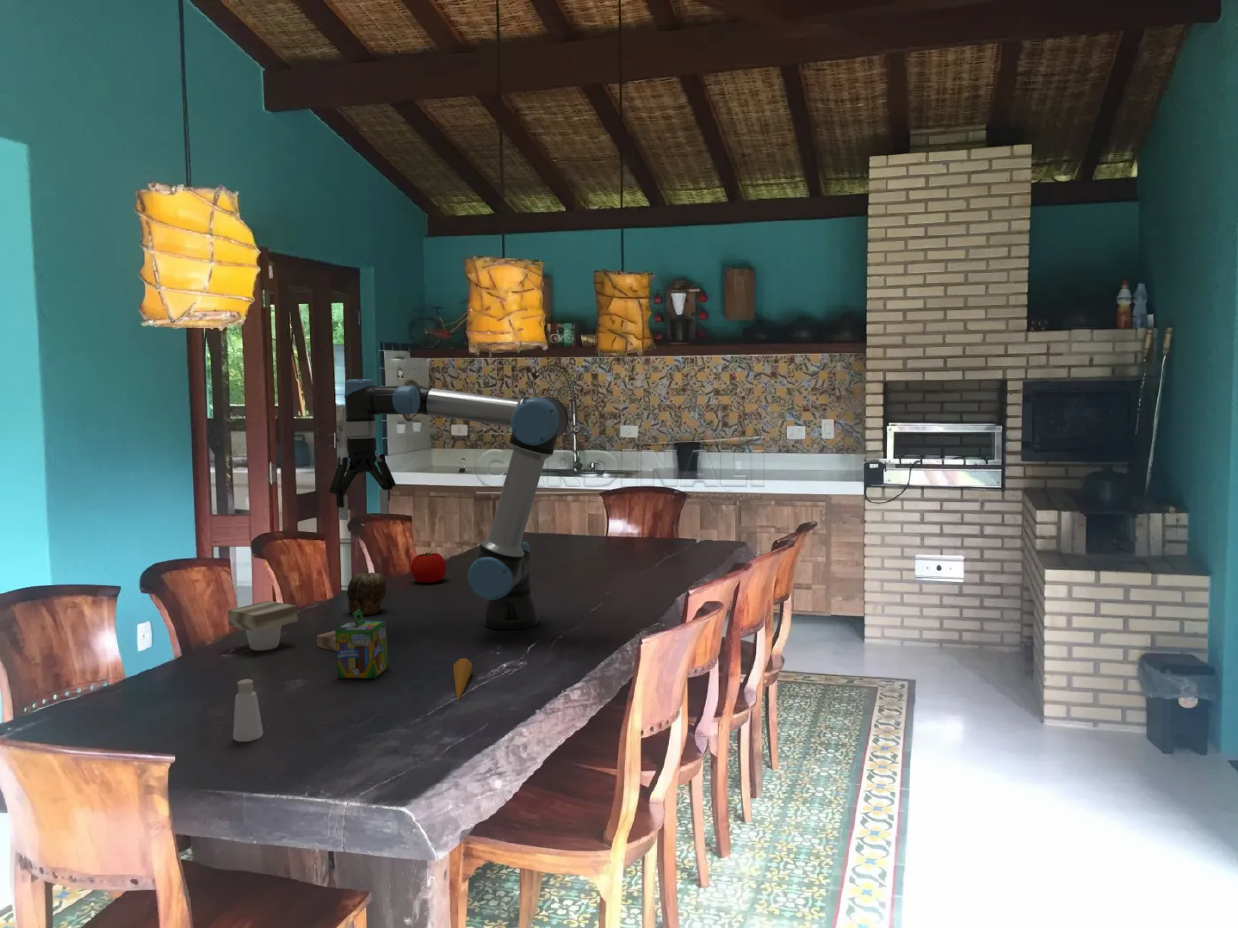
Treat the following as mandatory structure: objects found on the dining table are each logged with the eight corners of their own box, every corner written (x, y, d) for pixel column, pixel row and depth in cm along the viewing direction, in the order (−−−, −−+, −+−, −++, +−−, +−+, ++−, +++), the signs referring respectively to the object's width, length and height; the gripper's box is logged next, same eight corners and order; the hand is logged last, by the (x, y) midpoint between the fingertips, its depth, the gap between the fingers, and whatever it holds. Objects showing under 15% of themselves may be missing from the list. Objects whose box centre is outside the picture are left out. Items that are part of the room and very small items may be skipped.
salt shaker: (226, 740, 183) (223, 683, 182) (247, 730, 188) (244, 675, 188) (249, 743, 182) (246, 686, 181) (269, 733, 187) (266, 677, 186)
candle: (282, 650, 246) (281, 625, 245) (244, 653, 243) (243, 629, 243) (283, 641, 254) (282, 617, 254) (247, 644, 252) (245, 620, 251)
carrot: (458, 676, 223) (450, 660, 222) (476, 669, 224) (468, 652, 223) (452, 714, 204) (443, 696, 203) (472, 706, 204) (463, 688, 203)
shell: (376, 617, 278) (375, 576, 277) (341, 616, 280) (339, 575, 279) (392, 609, 289) (391, 569, 288) (358, 607, 291) (357, 568, 290)
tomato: (444, 577, 334) (443, 548, 333) (449, 584, 323) (447, 553, 322) (408, 580, 330) (407, 550, 329) (412, 587, 319) (411, 556, 318)
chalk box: (374, 679, 219) (372, 615, 218) (336, 679, 221) (333, 615, 219) (389, 667, 229) (386, 606, 227) (352, 667, 230) (349, 605, 229)
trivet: (368, 643, 250) (367, 632, 250) (339, 651, 243) (339, 640, 243) (345, 638, 255) (345, 627, 255) (317, 646, 248) (316, 635, 248)
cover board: (297, 621, 250) (297, 605, 249) (257, 631, 240) (256, 615, 240) (269, 615, 257) (268, 600, 256) (228, 625, 247) (227, 609, 247)
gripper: (388, 434, 269) (391, 510, 271) (312, 439, 249) (316, 521, 251) (406, 434, 265) (409, 511, 266) (331, 440, 244) (335, 523, 246)
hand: (364, 516), depth 258 cm, fingers open, 13 cm apart
